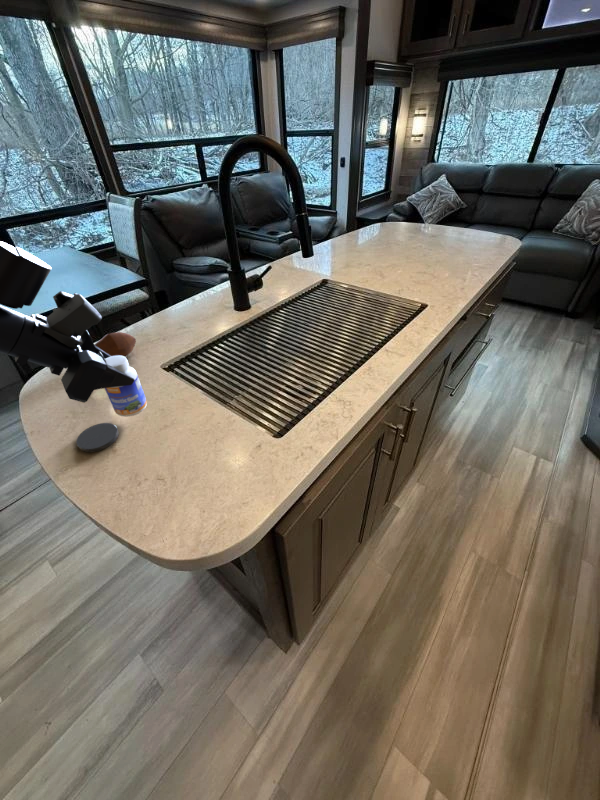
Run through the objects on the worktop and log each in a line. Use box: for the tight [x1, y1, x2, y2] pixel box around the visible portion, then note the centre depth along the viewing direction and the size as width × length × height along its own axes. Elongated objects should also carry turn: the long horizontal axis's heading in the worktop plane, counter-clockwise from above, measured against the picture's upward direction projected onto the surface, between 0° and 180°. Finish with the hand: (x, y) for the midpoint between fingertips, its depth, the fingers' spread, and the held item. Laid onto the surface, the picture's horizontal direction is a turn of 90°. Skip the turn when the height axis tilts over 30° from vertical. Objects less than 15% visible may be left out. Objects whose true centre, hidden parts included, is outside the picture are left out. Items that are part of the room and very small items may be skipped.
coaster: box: [75, 422, 120, 453], centre depth 62 cm, size 7×7×1 cm
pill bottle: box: [104, 355, 148, 418], centre depth 57 cm, size 5×5×10 cm
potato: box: [94, 331, 137, 357], centre depth 84 cm, size 6×12×6 cm, turn 141°
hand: (127, 374), depth 56 cm, fingers closed on pill bottle, 5 cm apart
